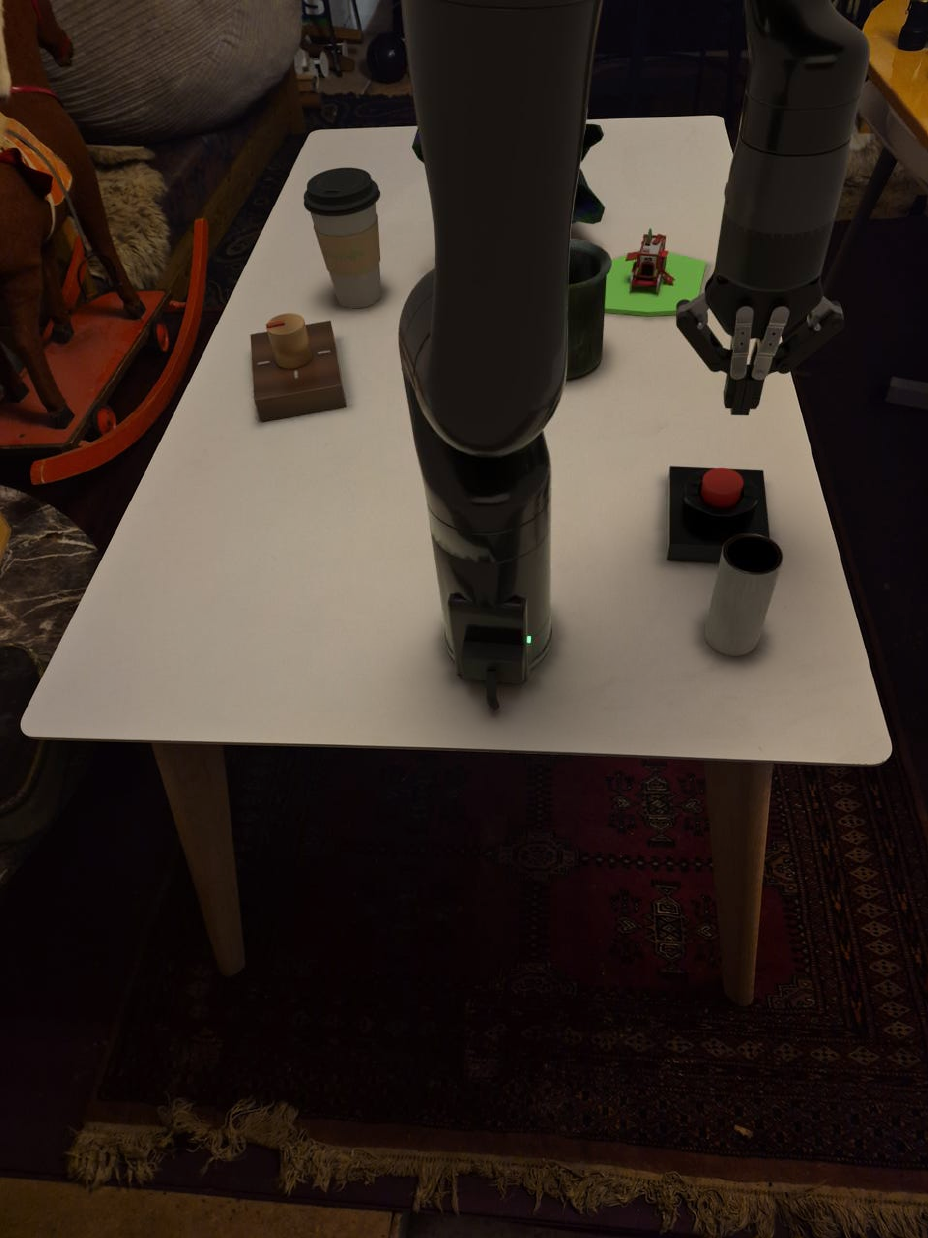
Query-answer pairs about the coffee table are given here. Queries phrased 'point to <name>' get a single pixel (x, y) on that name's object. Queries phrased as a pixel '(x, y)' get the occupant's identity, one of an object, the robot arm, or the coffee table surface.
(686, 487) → the button block
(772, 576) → the planter
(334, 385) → the panel
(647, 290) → the toy diorama
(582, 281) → the mug
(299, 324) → the knob
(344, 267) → the coffee cup
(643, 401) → the coffee table surface
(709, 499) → the button
